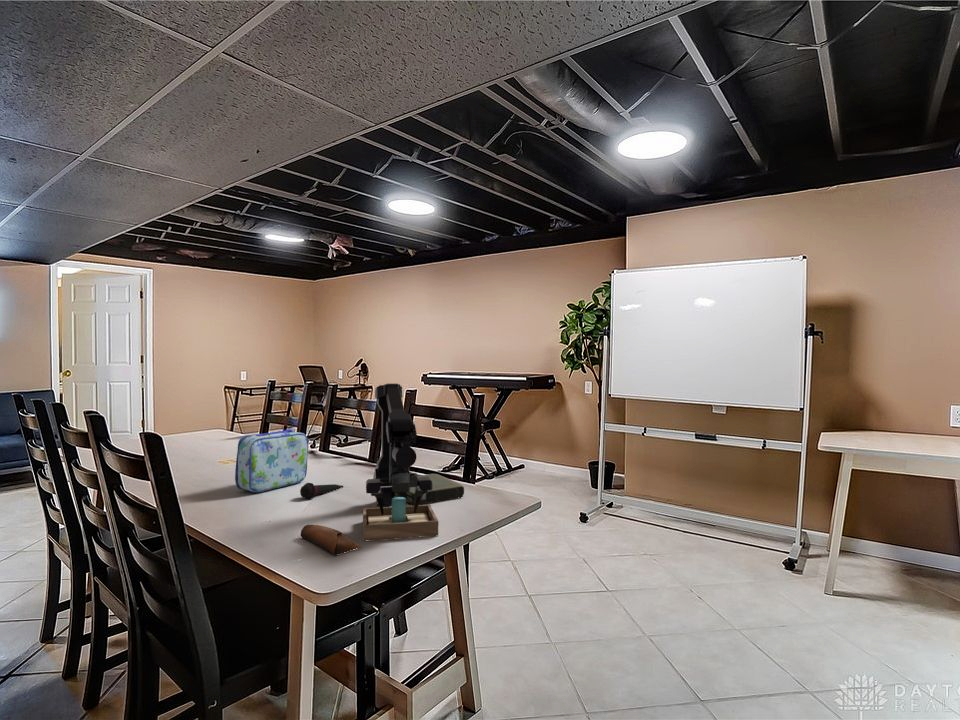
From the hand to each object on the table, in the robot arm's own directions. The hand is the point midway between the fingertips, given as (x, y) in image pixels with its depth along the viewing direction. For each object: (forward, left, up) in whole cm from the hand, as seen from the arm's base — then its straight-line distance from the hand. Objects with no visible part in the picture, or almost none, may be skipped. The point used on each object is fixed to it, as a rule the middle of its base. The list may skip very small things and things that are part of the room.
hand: (398, 514), depth 144 cm
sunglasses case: (+9, -18, -4) cm, 21 cm away
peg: (0, 0, -4) cm, 4 cm away
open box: (+2, 0, -4) cm, 4 cm away
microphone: (-40, -23, -4) cm, 46 cm away
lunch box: (-54, -42, -4) cm, 69 cm away
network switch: (-32, +12, -4) cm, 34 cm away
